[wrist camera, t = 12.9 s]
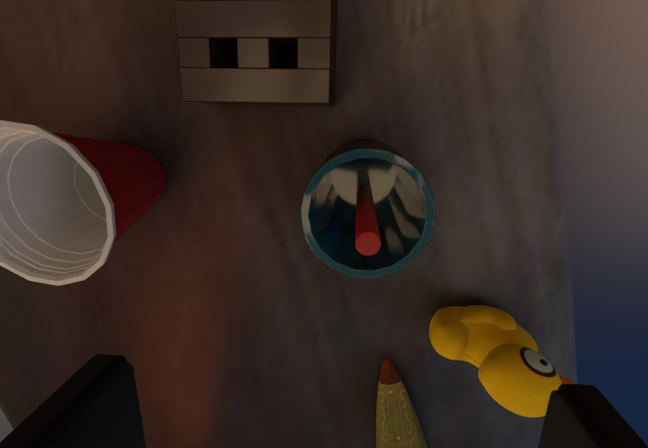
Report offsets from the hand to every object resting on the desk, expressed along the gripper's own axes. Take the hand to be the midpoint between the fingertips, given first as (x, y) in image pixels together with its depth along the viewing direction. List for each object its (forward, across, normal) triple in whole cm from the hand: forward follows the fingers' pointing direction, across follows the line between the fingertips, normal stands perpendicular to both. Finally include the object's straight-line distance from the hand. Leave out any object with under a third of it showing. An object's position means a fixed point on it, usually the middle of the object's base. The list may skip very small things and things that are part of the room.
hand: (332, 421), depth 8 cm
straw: (+25, -1, 0) cm, 25 cm away
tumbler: (+26, -1, 0) cm, 26 cm away
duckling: (+26, -12, +12) cm, 31 cm away
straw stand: (+26, +7, -12) cm, 30 cm away
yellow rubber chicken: (+26, -6, +26) cm, 37 cm away
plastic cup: (+26, +20, 0) cm, 33 cm away
